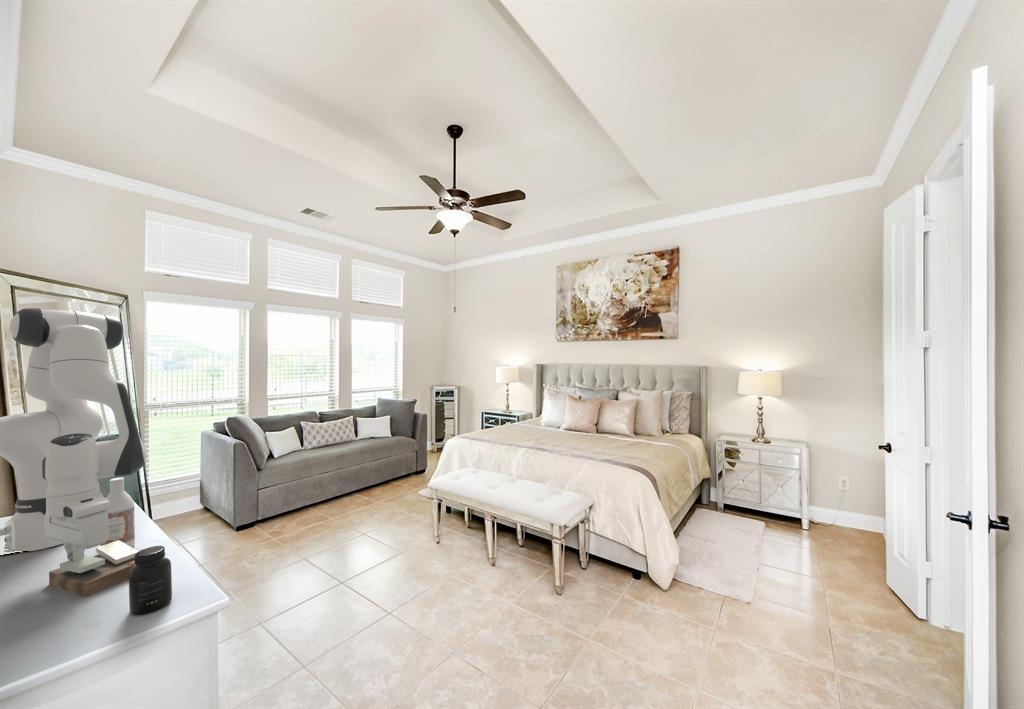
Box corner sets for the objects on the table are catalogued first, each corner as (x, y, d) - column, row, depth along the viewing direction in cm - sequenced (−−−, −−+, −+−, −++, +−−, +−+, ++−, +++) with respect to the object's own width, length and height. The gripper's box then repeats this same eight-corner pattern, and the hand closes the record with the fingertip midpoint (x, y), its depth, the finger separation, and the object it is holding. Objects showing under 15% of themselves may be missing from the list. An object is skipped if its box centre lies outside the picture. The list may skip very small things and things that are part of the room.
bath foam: (97, 558, 110) (95, 484, 110) (104, 548, 115) (103, 478, 116) (131, 551, 114) (130, 479, 114) (137, 542, 119) (136, 473, 120)
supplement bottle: (128, 607, 87) (127, 550, 87) (170, 593, 92) (169, 540, 92) (129, 621, 82) (128, 561, 82) (173, 606, 87) (172, 549, 87)
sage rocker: (60, 568, 96) (59, 563, 96) (85, 560, 100) (84, 555, 100) (80, 573, 93) (79, 568, 93) (105, 564, 97) (104, 559, 97)
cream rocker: (95, 552, 102) (96, 547, 102) (118, 544, 106) (118, 540, 106) (115, 564, 99) (116, 559, 99) (137, 556, 103) (138, 551, 103)
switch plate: (49, 584, 97) (49, 567, 97) (113, 560, 108) (113, 545, 108) (84, 597, 91) (84, 579, 91) (149, 570, 102) (149, 554, 102)
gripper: (33, 502, 99) (35, 558, 99) (78, 512, 91) (80, 573, 91) (69, 493, 105) (71, 547, 105) (114, 502, 97) (115, 560, 97)
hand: (75, 559), depth 98 cm, fingers closed, pressing on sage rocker
